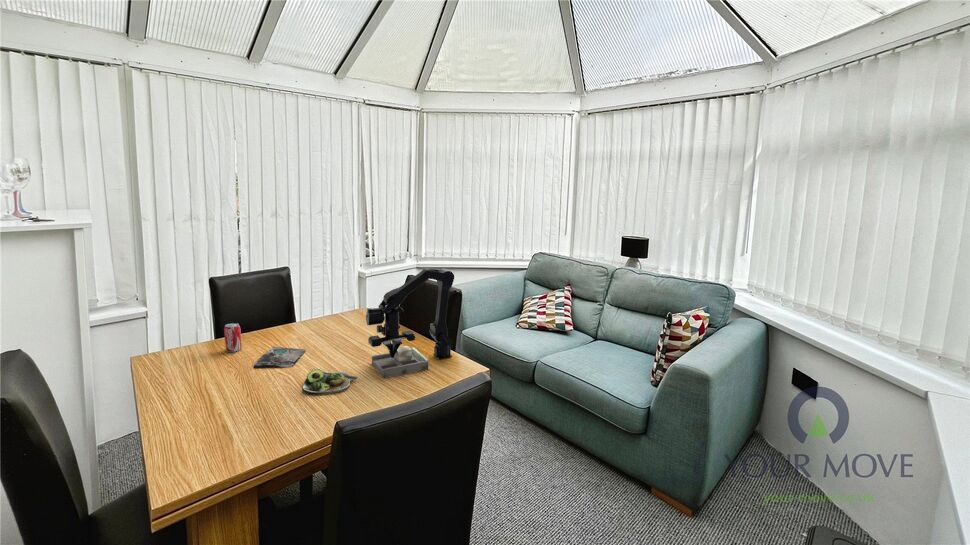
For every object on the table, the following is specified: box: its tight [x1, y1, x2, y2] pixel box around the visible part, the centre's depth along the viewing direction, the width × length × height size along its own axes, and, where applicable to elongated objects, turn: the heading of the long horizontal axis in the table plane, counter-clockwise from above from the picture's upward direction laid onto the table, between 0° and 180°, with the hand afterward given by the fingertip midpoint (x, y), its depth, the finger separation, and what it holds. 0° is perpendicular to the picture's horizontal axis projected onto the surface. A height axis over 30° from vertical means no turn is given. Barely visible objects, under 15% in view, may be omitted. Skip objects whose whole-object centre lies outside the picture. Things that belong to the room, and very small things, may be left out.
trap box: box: [371, 347, 429, 379], centre depth 183 cm, size 19×16×4 cm
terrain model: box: [253, 346, 308, 369], centre depth 188 cm, size 20×15×3 cm
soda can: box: [223, 322, 243, 353], centre depth 193 cm, size 6×6×12 cm
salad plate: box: [302, 368, 359, 396], centre depth 166 cm, size 19×18×5 cm
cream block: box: [395, 345, 412, 361], centre depth 187 cm, size 6×5×4 cm
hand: (392, 357), depth 185 cm, fingers closed
